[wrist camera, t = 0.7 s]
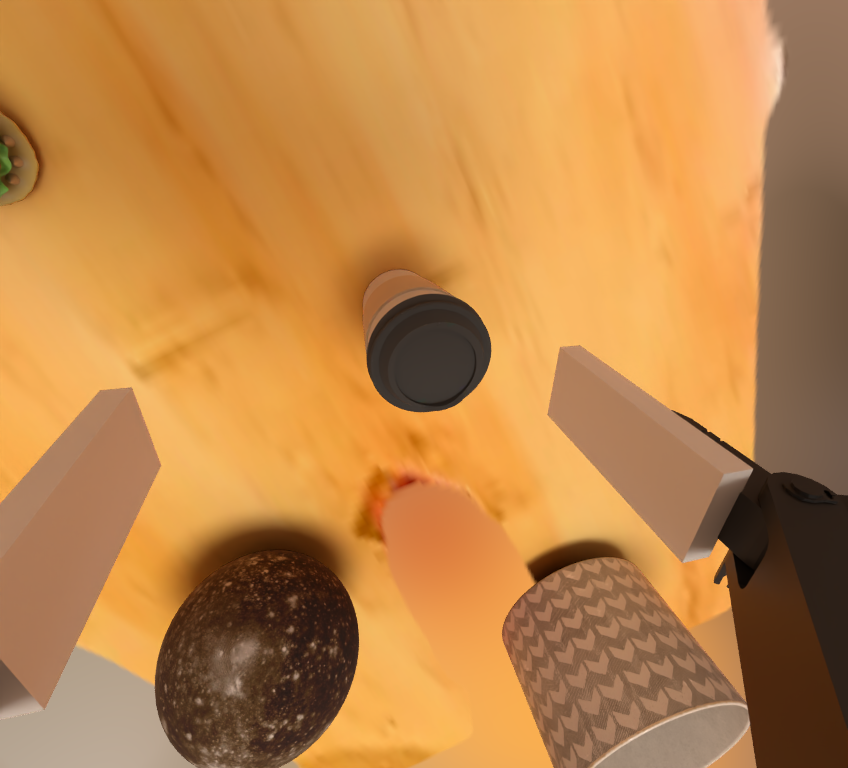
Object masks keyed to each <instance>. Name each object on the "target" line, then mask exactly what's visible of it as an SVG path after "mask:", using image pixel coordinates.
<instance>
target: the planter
mask: <svg viewBox="0 0 848 768" xmlns="http://www.w3.org/2000/svg"><path fill="white" fill-rule="evenodd" d="M502 637H503V641H504V645H505V647H506V649H507V652H508V655H509V657H510V660H511V662H512V664H513V667H514V670H515V672H516V675H517V677H518V679H519V682H520V684H521V687H522V689H523V692H524V694H525V697H526V699H527V702H528V704H529V707H530V709H531V712H532V714H533V717H534V719H535V722H536V724H537V727H538V729H539V732H540V734H541V737H542V739H543V742H544V744H545V747H546V749H547V752H548V754H549V757H550V759H551V762H552V764H553V767H554V768H706V767H708V766H709V765H711V764H712V763H714V762H715V761H716V760H717V759H719V758H720V757H721V756H723V755H724V754H725V753H726V752H727V751H729V750H730V749H731V748H732V747H733V746H734V745H735V744H736V743H737V742H738V741H739V740H740V739H741V738H742V736H743V735H744V734H745V732H746V731H747V730H748V728H749V726H750V721H749V714H748V708H747V703H746V702H745V701H744V699H743V698H742V697H741V696H740V695H739V693H738V692H737V691H736V689H735V688H734V687H733V686H732V684H731V683H730V682H729V681H728V679H727V678H726V677H725V676H724V674H723V673H722V672H721V671H720V670H719V668H718V667H717V666H716V665H715V663H714V662H713V661H712V660H711V658H710V657H709V656H708V655H707V653H706V652H705V651H704V650H703V648H702V647H701V646H700V645H699V643H698V642H697V641H696V640H695V638H694V637H693V636H692V635H691V633H690V632H689V631H688V630H687V628H686V627H685V626H684V625H683V623H682V622H681V621H680V620H679V618H678V617H677V616H676V615H675V613H674V612H673V611H672V610H671V608H670V607H669V606H668V605H667V603H666V602H665V601H664V600H663V598H662V597H661V596H660V595H659V593H658V592H657V591H656V590H655V589H654V587H653V586H652V585H651V584H650V582H649V581H648V580H647V579H646V577H645V576H644V575H643V574H642V572H641V571H640V570H639V569H638V568H637V566H635V565H634V564H633V563H631V562H629V561H627V560H625V559H621V558H615V557H600V558H593V559H588V560H584V561H580V562H577V563H574V564H571V565H569V566H566V567H564V568H562V569H560V570H558V571H556V572H554V573H552V574H550V575H548V576H547V577H545V578H544V579H542V580H541V581H539V582H538V583H536V584H535V585H534V586H533V587H531V588H530V589H529V590H528V591H527V592H526V593H524V594H523V595H522V596H521V597H520V599H519V600H518V601H517V602H516V603H515V604H514V606H513V607H512V609H511V610H510V612H509V613H508V615H507V617H506V619H505V622H504V625H503V630H502Z"/></svg>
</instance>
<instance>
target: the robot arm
mask: <svg viewBox="0 0 848 768" xmlns="http://www.w3.org/2000/svg"><path fill="white" fill-rule="evenodd" d="M548 416H549V417H550V418H551V419H552V420H553V421H554V422H555V424H556V425H557V426H558V427H559V428H560V429H561V430H562V431H563V432H564V433H565V435H566V436H567V437H568V438H569V439H570V440H571V441H572V442H573V443H574V444H575V446H576V447H577V448H578V449H579V450H580V451H581V452H582V453H583V454H584V455H585V457H586V458H587V459H588V460H589V461H590V462H591V463H592V464H593V465H594V466H595V467H596V469H597V470H598V471H599V472H600V473H601V474H602V475H603V476H604V477H605V478H606V480H607V481H608V482H609V483H610V484H611V485H612V486H613V487H614V488H615V489H616V491H617V492H618V493H619V494H620V495H621V496H622V497H623V498H624V499H625V500H626V502H627V503H628V504H629V505H630V506H631V507H632V508H633V509H634V510H635V511H636V513H637V514H638V515H639V516H640V517H641V518H642V519H643V520H644V521H645V522H646V524H647V525H648V526H649V527H650V528H651V529H652V530H653V531H654V532H655V533H656V534H657V536H658V537H659V538H660V539H661V540H662V541H663V542H664V543H665V544H666V545H667V547H668V548H669V549H670V550H671V551H672V552H673V553H674V554H675V555H676V556H677V558H678V559H679V560H680V561H681V562H682V563H684V562H689V561H693V560H697V559H702V558H706V557H709V556H710V554H711V552H712V550H713V548H714V546H715V544H716V542H717V540H718V539H719V540H720V541H721V542H723V543H724V544H725V545H726V546H727V547H728V548H729V550H728V552H727V554H726V556H725V558H724V560H723V562H722V563H721V565H720V567H719V569H718V571H717V573H716V575H715V578H714V583H716V584H720V582H721V580H722V578H723V577H724V576H726V575H727V579H728V585H727V588H729V592H730V598H731V605H732V611H733V618H734V624H735V630H736V637H737V643H738V650H739V656H740V662H741V669H742V675H743V682H744V688H745V695H746V701H747V708H748V714H749V721H750V726H751V733H752V740H753V746H754V753H755V759H756V766H757V768H848V496H846V495H837V494H835V493H834V492H833V491H831V490H830V489H828V488H827V487H825V486H824V485H822V484H820V483H818V482H816V481H814V480H812V479H809V478H806V477H803V476H800V475H797V474H791V473H785V472H780V473H773V474H770V473H769V472H767V471H766V470H765V469H763V468H762V467H760V466H759V465H757V464H756V463H755V462H753V461H752V460H750V459H749V458H747V457H746V456H744V455H743V454H742V453H740V452H739V451H737V450H736V449H734V448H733V447H731V446H730V445H729V444H727V443H726V442H724V441H720V438H719V437H717V436H716V435H714V434H713V433H711V432H707V429H706V428H704V427H703V426H701V425H700V424H698V423H697V422H695V421H694V420H693V419H691V418H689V417H687V416H684V415H682V414H680V413H677V412H675V411H673V410H670V409H669V408H667V407H666V406H664V405H663V404H662V403H660V402H659V401H657V400H656V399H655V398H653V397H652V396H650V395H649V394H648V393H646V392H645V391H643V390H642V389H640V388H639V387H638V386H636V385H635V384H633V383H632V382H631V381H629V380H628V379H626V378H625V377H624V376H622V375H621V374H619V373H618V372H617V371H615V370H614V369H612V368H611V367H609V366H608V365H607V364H605V363H604V362H602V361H601V360H600V359H598V358H597V357H595V356H594V355H593V354H591V353H590V352H588V351H587V350H586V349H584V348H583V347H581V346H569V347H560V350H559V355H558V361H557V366H556V372H555V377H554V382H553V388H552V393H551V399H550V404H549V410H548ZM160 467H161V464H160V461H159V458H158V456H157V453H156V450H155V448H154V445H153V442H152V440H151V437H150V434H149V432H148V429H147V426H146V424H145V421H144V419H143V416H142V413H141V411H140V408H139V405H138V403H137V400H136V397H135V395H134V392H133V389H132V388H121V389H110V390H100V391H99V393H98V394H97V395H96V396H95V397H94V398H93V399H92V401H91V402H90V403H89V404H88V405H87V406H86V407H85V408H84V410H83V411H82V412H81V413H80V414H79V415H78V416H77V417H76V419H75V420H74V421H73V422H72V423H71V424H70V425H69V427H68V428H67V429H66V430H65V431H64V432H63V433H62V434H61V436H60V437H59V438H58V439H57V440H56V441H55V442H54V444H53V445H52V446H51V447H50V448H49V449H48V450H47V451H46V453H45V454H44V455H43V456H42V457H41V458H40V459H39V460H38V462H37V463H36V464H35V465H34V466H33V467H32V468H31V470H30V471H29V472H28V473H27V474H26V475H25V476H24V477H23V479H22V480H21V481H20V482H19V483H18V484H17V485H16V487H15V488H14V489H13V490H12V491H11V492H10V493H9V494H8V496H7V497H6V498H5V499H4V500H3V501H2V502H1V503H0V720H2V719H7V718H11V717H16V716H20V715H24V714H29V713H33V712H37V711H42V710H44V709H45V708H46V705H47V703H48V701H49V699H50V697H51V695H52V693H53V691H54V689H55V687H56V684H57V683H58V680H59V678H60V676H61V674H62V672H63V670H64V668H65V666H66V664H67V662H68V659H69V657H70V655H71V653H72V651H73V649H74V647H75V645H76V643H77V641H78V638H79V636H80V634H81V632H82V630H83V628H84V626H85V624H86V622H87V620H88V618H89V615H90V613H91V611H92V609H93V607H94V605H95V603H96V601H97V599H98V597H99V594H100V592H101V590H102V588H103V586H104V584H105V582H106V580H107V578H108V576H109V573H110V571H111V569H112V567H113V565H114V563H115V561H116V559H117V557H118V555H119V553H120V550H121V548H122V546H123V544H124V542H125V540H126V538H127V536H128V534H129V532H130V529H131V527H132V525H133V523H134V521H135V519H136V517H137V515H138V513H139V511H140V508H141V506H142V504H143V502H144V500H145V498H146V496H147V494H148V492H149V490H150V488H151V485H152V483H153V481H154V479H155V477H156V475H157V473H158V471H159V469H160Z"/></svg>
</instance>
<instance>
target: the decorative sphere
mask: <svg viewBox="0 0 848 768" xmlns="http://www.w3.org/2000/svg"><path fill="white" fill-rule="evenodd" d="M358 650H359V632H358V623H357V618H356V613H355V610H354V606H353V604H352V601H351V599H350V596H349V594H348V592H347V591H346V589H345V587H344V586H343V584H342V583H341V581H340V580H339V579H338V577H337V576H336V575H335V574H334V573H333V572H332V571H331V570H330V569H329V568H327V567H326V566H325V565H323V564H322V563H321V562H319V561H317V560H316V559H314V558H311V557H309V556H307V555H304V554H301V553H298V552H293V551H285V550H269V551H262V552H256V553H252V554H249V555H246V556H243V557H240V558H238V559H236V560H234V561H232V562H230V563H228V564H226V565H224V566H223V567H221V568H220V569H218V570H217V571H215V572H214V573H212V574H211V575H210V576H208V577H207V578H206V579H205V580H204V581H203V582H202V583H200V584H199V585H198V586H197V587H196V588H195V590H194V591H193V592H192V593H191V594H190V595H189V596H188V598H187V599H186V600H185V601H184V603H183V604H182V605H181V607H180V608H179V610H178V612H177V613H176V615H175V617H174V618H173V620H172V622H171V624H170V626H169V628H168V630H167V632H166V635H165V637H164V640H163V643H162V646H161V649H160V653H159V657H158V661H157V667H156V675H155V696H156V706H157V710H158V715H159V718H160V721H161V724H162V727H163V729H164V731H165V733H166V735H167V737H168V739H169V740H170V742H171V743H172V745H173V746H174V747H175V749H176V750H177V751H178V752H179V753H180V754H181V755H182V756H183V757H184V758H185V759H186V760H187V761H189V762H190V763H192V764H193V765H195V766H196V767H198V768H279V767H281V766H282V765H285V764H286V763H288V762H290V761H292V760H293V759H295V758H296V757H298V756H299V755H300V754H302V753H303V752H304V751H306V750H307V749H308V748H309V747H310V746H311V745H312V744H313V743H314V742H316V741H317V740H318V739H319V738H320V736H321V735H322V734H323V733H324V732H325V731H326V729H327V728H328V727H329V726H330V724H331V723H332V721H333V720H334V718H335V717H336V716H337V714H338V712H339V710H340V708H341V707H342V705H343V703H344V701H345V699H346V697H347V694H348V692H349V690H350V687H351V684H352V681H353V678H354V674H355V670H356V665H357V659H358Z"/></svg>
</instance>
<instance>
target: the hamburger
mask: <svg viewBox="0 0 848 768" xmlns="http://www.w3.org/2000/svg"><path fill="white" fill-rule="evenodd" d="M35 155H36V154H35V151H34V149H33V148H32V146H31V144H30V143H29V141H28V139H27V137H26V135H25V134H24V133H23V132H22V131H21V130H20V129H19V127H18V126H17V124H16V123H15V122H14V121H13V120H11V119H10V118H8V117H7V116H5V115H4V114H3V113H2V112H1V111H0V206H3V205H10V204H13V203H15V202H18V201H21V200H23V199H25V198H26V196H27V195H28V193H30V192H32V191H33V187H34V184H35V182H36V180H37V178H38V175H37V173H38V171H39V163H38V161H37V159H36V157H35Z"/></svg>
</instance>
